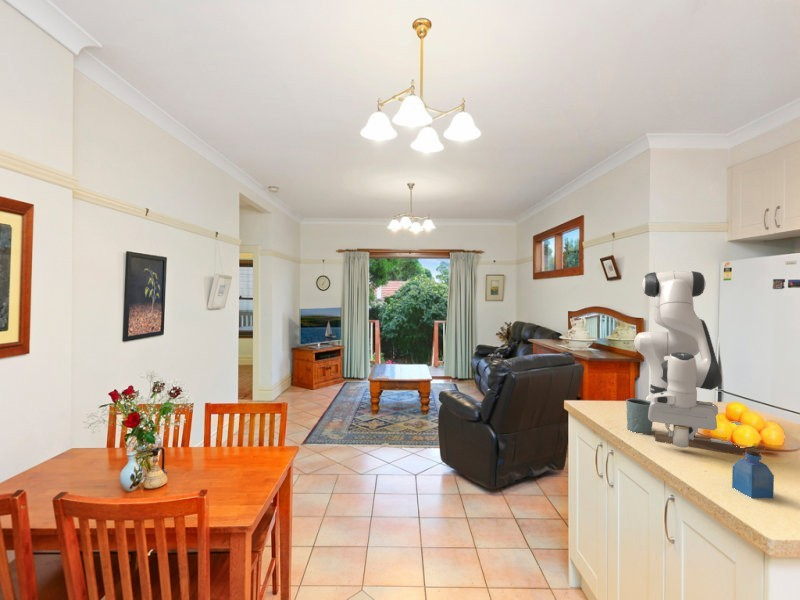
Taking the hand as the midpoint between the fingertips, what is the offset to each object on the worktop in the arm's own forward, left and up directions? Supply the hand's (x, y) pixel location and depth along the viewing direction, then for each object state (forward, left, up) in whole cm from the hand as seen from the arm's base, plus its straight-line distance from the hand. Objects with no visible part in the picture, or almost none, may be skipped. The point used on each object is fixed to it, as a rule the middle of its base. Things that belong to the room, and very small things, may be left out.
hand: (680, 437), depth 146 cm
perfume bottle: (+28, +14, -5) cm, 32 cm away
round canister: (0, 0, -3) cm, 3 cm away
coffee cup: (-21, +3, -5) cm, 22 cm away
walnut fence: (-8, +5, -5) cm, 11 cm away
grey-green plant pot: (-18, -12, -5) cm, 22 cm away
